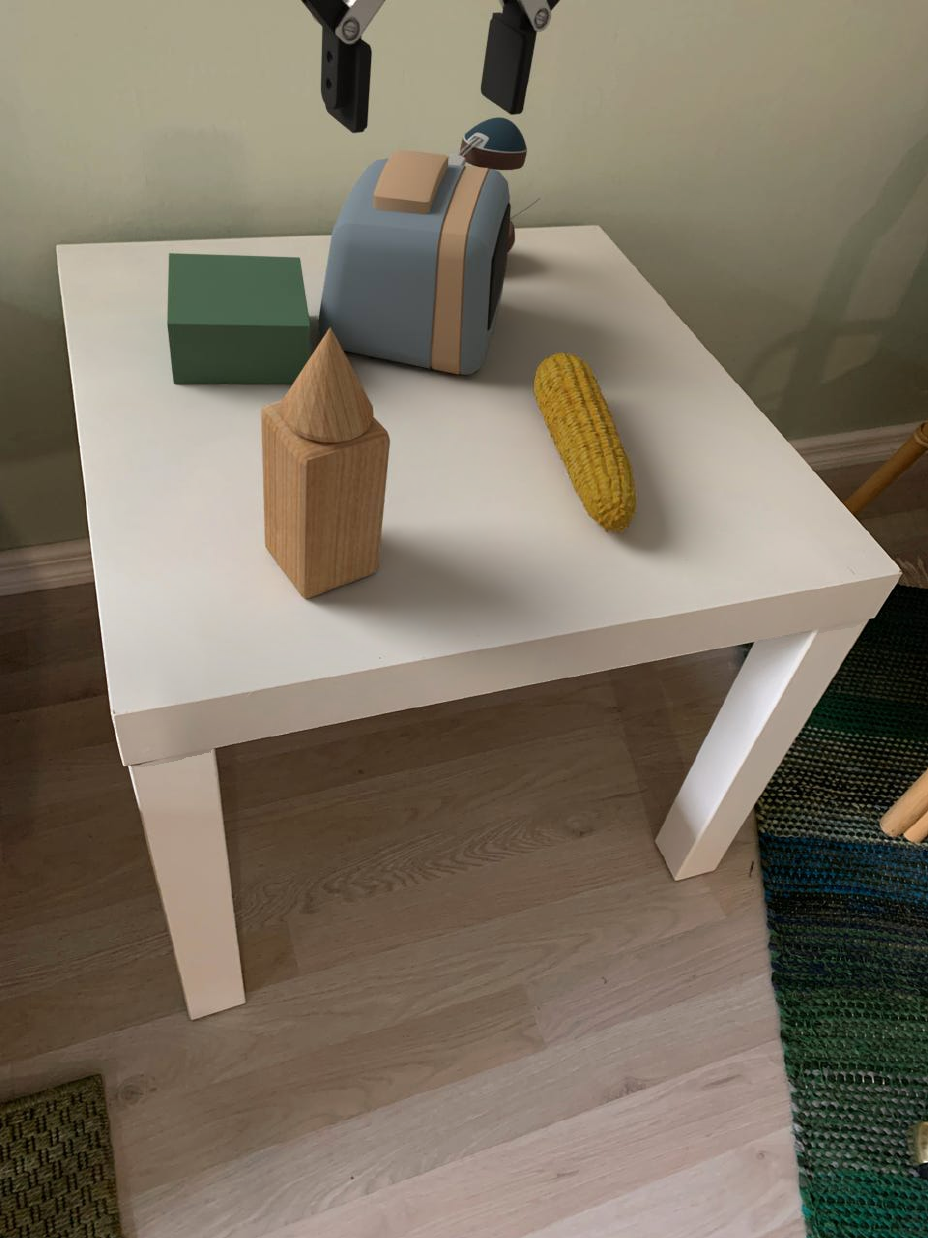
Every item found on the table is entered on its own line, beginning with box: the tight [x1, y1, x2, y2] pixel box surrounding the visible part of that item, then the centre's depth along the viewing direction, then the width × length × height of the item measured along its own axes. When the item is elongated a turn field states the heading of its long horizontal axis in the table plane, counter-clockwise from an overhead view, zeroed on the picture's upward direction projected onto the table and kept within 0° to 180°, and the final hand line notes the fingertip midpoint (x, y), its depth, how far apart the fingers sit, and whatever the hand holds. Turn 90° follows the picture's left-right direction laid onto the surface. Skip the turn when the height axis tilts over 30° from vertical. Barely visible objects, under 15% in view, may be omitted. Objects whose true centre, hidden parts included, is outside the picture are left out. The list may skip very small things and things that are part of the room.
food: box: [533, 351, 638, 534], centre depth 82 cm, size 21×6×6 cm, turn 13°
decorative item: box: [260, 327, 391, 599], centre depth 65 cm, size 7×7×20 cm
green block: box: [166, 252, 311, 385], centre depth 88 cm, size 12×12×6 cm
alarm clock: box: [317, 149, 512, 376], centre depth 90 cm, size 16×16×16 cm
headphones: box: [448, 117, 541, 254], centre depth 101 cm, size 6×15×22 cm
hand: (426, 112), depth 50 cm, fingers open, 9 cm apart
